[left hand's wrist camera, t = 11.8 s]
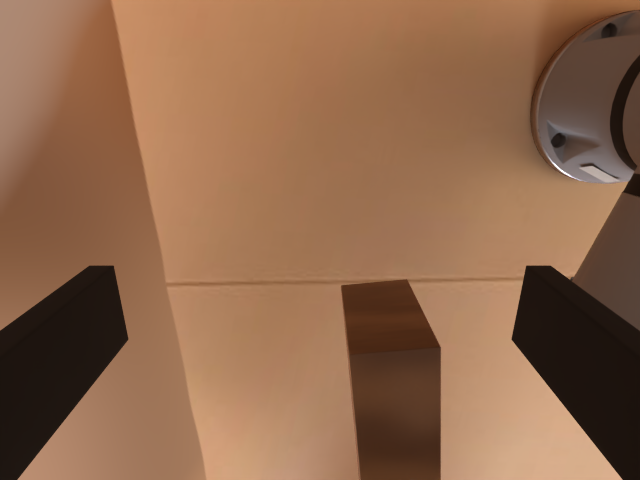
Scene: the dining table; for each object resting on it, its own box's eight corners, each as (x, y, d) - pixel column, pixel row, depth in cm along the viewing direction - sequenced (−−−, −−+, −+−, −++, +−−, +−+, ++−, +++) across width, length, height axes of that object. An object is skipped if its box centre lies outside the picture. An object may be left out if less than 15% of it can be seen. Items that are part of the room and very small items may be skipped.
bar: (340, 285, 32) (349, 354, 23) (407, 279, 32) (440, 346, 23) (360, 492, 40) (371, 603, 31) (413, 488, 39) (440, 599, 30)
